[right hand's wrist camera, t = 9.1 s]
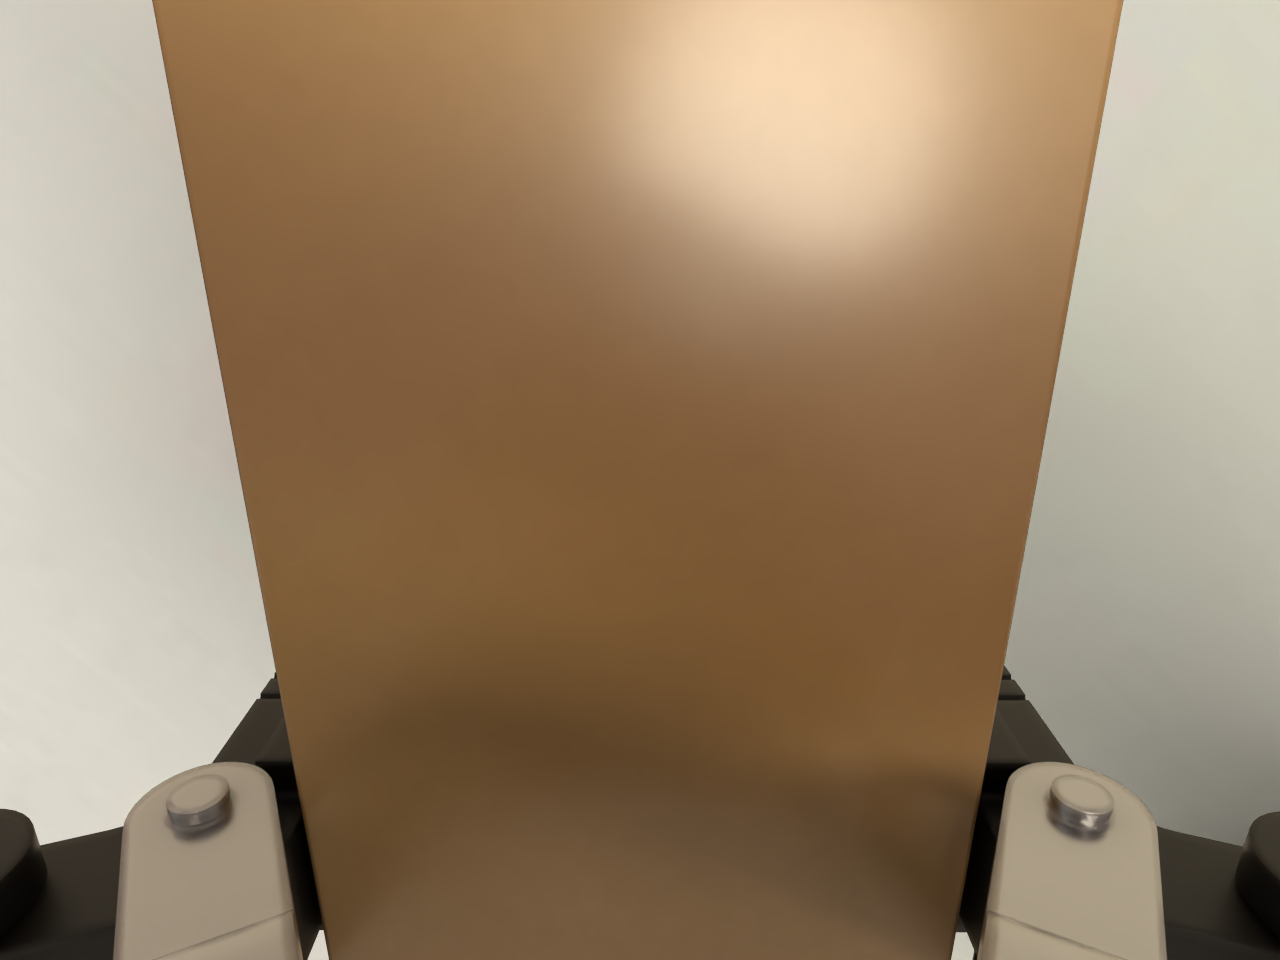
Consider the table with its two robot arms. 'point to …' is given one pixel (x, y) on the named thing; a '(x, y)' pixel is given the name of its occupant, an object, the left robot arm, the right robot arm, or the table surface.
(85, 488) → the table surface
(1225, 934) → the right robot arm
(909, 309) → the box
